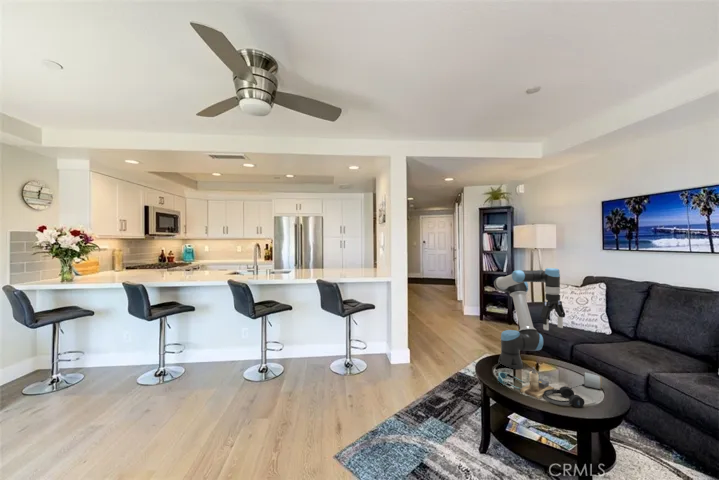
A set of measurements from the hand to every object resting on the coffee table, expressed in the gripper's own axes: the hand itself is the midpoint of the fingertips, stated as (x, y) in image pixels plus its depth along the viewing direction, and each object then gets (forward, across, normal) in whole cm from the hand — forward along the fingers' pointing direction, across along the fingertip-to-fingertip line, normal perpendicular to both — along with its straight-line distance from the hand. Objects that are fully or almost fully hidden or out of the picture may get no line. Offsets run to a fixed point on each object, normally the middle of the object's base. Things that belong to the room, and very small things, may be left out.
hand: (553, 328), depth 181 cm
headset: (+33, -16, -16) cm, 40 cm away
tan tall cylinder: (+31, -22, -3) cm, 39 cm away
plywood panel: (+33, -19, -2) cm, 38 cm away
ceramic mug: (+33, +17, -12) cm, 39 cm away
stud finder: (+31, -14, -1) cm, 34 cm away
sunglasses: (+33, -24, +11) cm, 42 cm away
